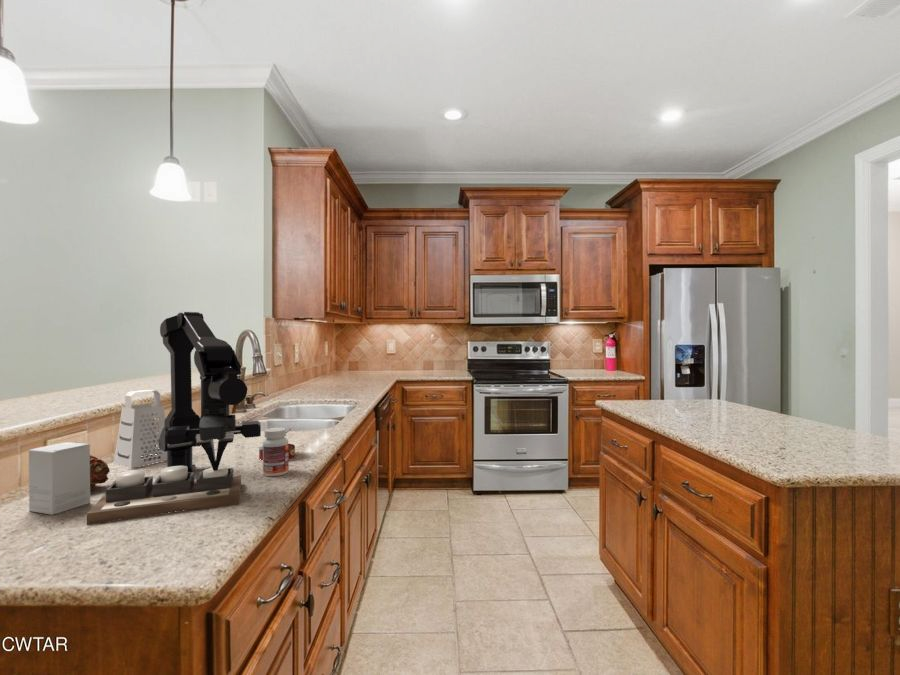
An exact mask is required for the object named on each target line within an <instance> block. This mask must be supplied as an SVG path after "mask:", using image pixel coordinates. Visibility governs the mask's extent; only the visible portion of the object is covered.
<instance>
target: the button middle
mask: <svg viewBox="0 0 900 675" xmlns="http://www.w3.org/2000/svg"><path fill="white" fill-rule="evenodd" d="M160 475H161V483H167V482H176V481H185V480H187V479H188V467H187V466H172V467H167V466H166V467H164V468H162V469H161V470H160Z"/></svg>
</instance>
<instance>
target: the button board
mask: <svg viewBox="0 0 900 675" xmlns="http://www.w3.org/2000/svg"><path fill="white" fill-rule="evenodd" d="M227 468H228V467H227ZM203 471H204V470H200V471H199V473H198V475H197V478H196V480H195V471H193V472H189V473H188V479H187V480H185V481H176V482H167V483H161V474H160V475H158V477H157V478H156V479H155V481H153V480H154V478H153V477H154V476H145V483H144V484H143V485H140V486H131V487H122V488H116V479H115V480H114V481H113V482H112V483H111V484H110V485H109V486H108V487H107V488H106V489H105V494H104V495H103V496H102V497H100V499H99V500H98V501H96V503H95V504H94V505H93V506H92V507H91V509H89V510H88V512H87V513H86V525H90V524H91V525H92V524H97V523H99V524H100V523H106V522H112V521H113V520H115V521H120V520H119V519H122V520H129V519H128V518H130V519H135V518H134V517H137V518H143V517H142V516H145V517H150V516H149V515H152V516H157V515H156V514H160V515H162V514H161V513H167V514H169V513H168V512H175V511H182V512H184V511H183V510H190V511H194V510H193V509H197V510H203V509H202V508H205V509H210V508H209V507H212V508H218V506H220V507H225V506H233V505H239V504H240V497H241V489H242V476H241V475H236V476H234V467H229V468H228V476H222V477H213V478H204V479H203ZM175 513H176V512H175Z"/></svg>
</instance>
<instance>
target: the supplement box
mask: <svg viewBox="0 0 900 675" xmlns="http://www.w3.org/2000/svg"><path fill="white" fill-rule="evenodd" d="M90 447H91V445H90V443H81V442H80V443H79V442H71V441H70V442H69V441H67V442H60V443H54V444H49V445H46V446H40V447H34V448H31V449H28V495H29V496H28V502H29V503H28V506H29V507H28V510H29V512H34V513H40V514H46V515H50V516H51V515H52V516H53V515H56V514H60V513H63V512H66V511H69V510H72V509H73V510H74V509H76V508H79V507H82V506H86V505H88V504H90V503H91V490H90V455H91V452H90V451H91V448H90Z"/></svg>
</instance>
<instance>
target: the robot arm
mask: <svg viewBox="0 0 900 675" xmlns="http://www.w3.org/2000/svg"><path fill="white" fill-rule="evenodd" d="M210 328H211V327H209V325H208V324H207V323H206V321H205V320H204V314H203V313H200V312H198V311H181V312H178V314H176V315H173V316H170V317H168V318H167V317H166V318H165V319H164V320H163V321H162V322H161V324H160V326H159V333H160V336H161V338H162V344H163V346H164V347H165V348H166V350H167V351H168V353H169V354H170V355H169V356H170V387H171V388H170V394H171V397H170V398H171V400H170V401H171V402H170V403H171V408H170V409H171V410H170V411H169V413H168V414H167V416H165V418H166V419H165V421H164V428H163V429H162V432H161V435H160V438H159V448H158V449H160V450H162V451H164V452H166V451H167V461H166V465H167V466H166V468H167V467H172V466H187V467H188V473H189V472H194V470H195V468H196V464H193V448H195V447H202V448H203V450H204V452H205V453H206V456H207V457H208V458H207V459H208V461H209V463H210V465H211V468H213V471H215V470H218V467H220V463H221V460H222V457H223V454H224V452H225V449H226V447H227V446H228V445H229V443H233V442H234V438H235V435H241V436H243V437H244V438H247V439H249V438H256V437H257V438H259V437H261V434H262V432H261V429H262V428H261V426H262V425H261V422H260V421H259V420H247V421H242V422H241V425H236V420H237V419H236V414H230V406H235V405H238V404H240V403H241V402H243V401H244V400H245V398H246V396H247V393H248V387H247V385H246V383H245V382H244V380H242V379H240V378H239V377H238V375H241V374H242V372H241V369H242V366H241V363H240V361H239V359H238V357H237V354H236V352H235V349H233V347H232V346H231V345H230V344H229V343H228V342H227V341H225V340H223V339H220V338H217V337H216V335H215V333H214V332H213V331H212V330H211V329H210ZM194 349H195V350H194ZM193 350H194V353H193V362H194V366H195V367H196V369H197V371H198V373H199V380H200V416H199V415H198V414H197V413H196V412H195V411H194V409H193V396H192V393H193V392H192V391H193V390H192V385H193V384H192V352H193ZM214 440H218V442H217V449H216V453H215V444H214ZM168 444H169V445H168Z"/></svg>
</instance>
